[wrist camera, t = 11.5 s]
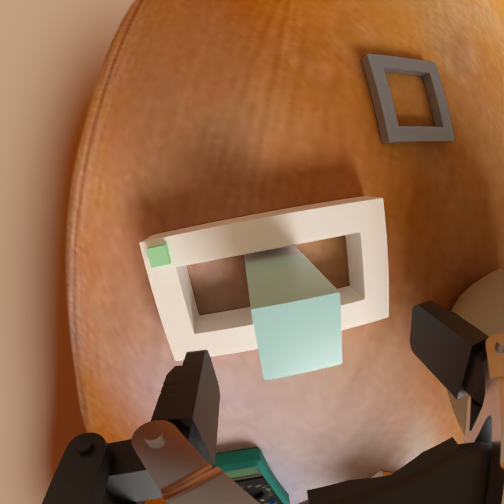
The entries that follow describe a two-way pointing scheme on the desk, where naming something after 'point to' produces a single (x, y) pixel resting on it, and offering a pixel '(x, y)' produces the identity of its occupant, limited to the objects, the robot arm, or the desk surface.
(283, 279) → the plug
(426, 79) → the grey square ring
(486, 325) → the flower pot
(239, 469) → the digital multimeter
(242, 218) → the port panel
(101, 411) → the desk surface
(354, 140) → the desk surface
